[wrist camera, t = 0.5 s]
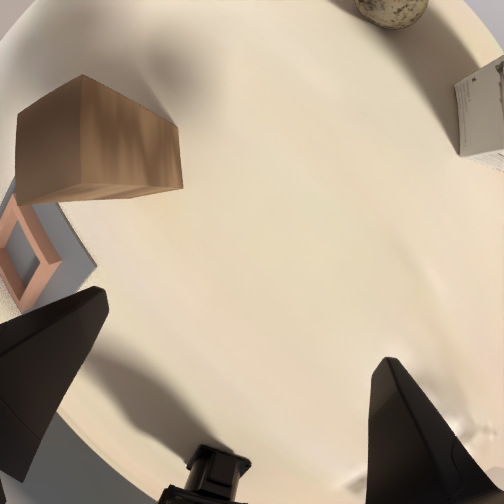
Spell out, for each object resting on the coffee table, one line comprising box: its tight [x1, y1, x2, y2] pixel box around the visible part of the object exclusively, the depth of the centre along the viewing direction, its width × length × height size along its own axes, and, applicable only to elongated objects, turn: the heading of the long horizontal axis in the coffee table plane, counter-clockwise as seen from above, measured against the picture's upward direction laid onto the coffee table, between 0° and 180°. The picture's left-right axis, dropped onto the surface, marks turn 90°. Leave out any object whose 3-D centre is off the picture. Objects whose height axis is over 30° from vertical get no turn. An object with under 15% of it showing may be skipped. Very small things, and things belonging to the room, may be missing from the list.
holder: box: [0, 177, 97, 315], centre depth 23 cm, size 16×16×2 cm
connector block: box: [15, 75, 183, 206], centre depth 15 cm, size 5×5×12 cm
